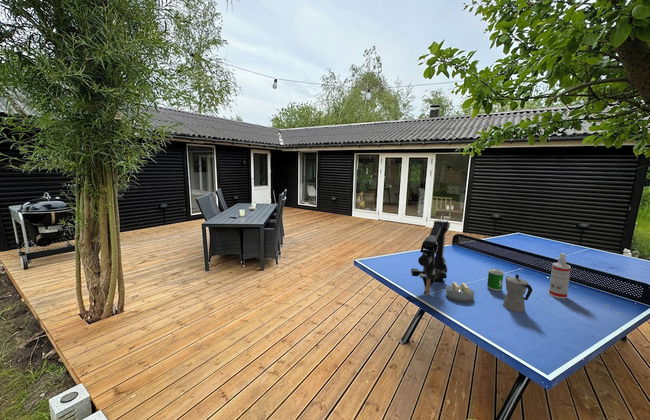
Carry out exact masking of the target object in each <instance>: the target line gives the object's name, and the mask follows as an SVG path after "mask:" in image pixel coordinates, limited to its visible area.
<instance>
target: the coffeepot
mask: <svg viewBox="0 0 650 420" xmlns="http://www.w3.org/2000/svg"><path fill="white" fill-rule="evenodd" d="M505 289H506V295H505V296H504V301H503V303H502V305H503V308H505V309H506V310H509V311H511V312H515V313H523V312H525V311H526V305H525V301H528V300H529V298H530V297H531V294H532V293H533V288H532V286H531V285H530V284H529V282H528V281H527V280H526V279H524V278H521V277H520V275H519V274H515V277H514V276H511V275H507V276H506V275H505ZM526 291H527V292H526ZM524 295H525V297H524Z"/></svg>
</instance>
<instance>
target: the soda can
mask: <svg viewBox="0 0 650 420" xmlns="http://www.w3.org/2000/svg"><path fill="white" fill-rule="evenodd" d="M504 275H505V274H504V272H503V271H502V270H501V269H499V268H490V269H489V270H488V274H487V283H486V284H487V285H486V286H487V288H488V289H489V290H491V291H493V292H501V291H502V290H503V284H504Z"/></svg>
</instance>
